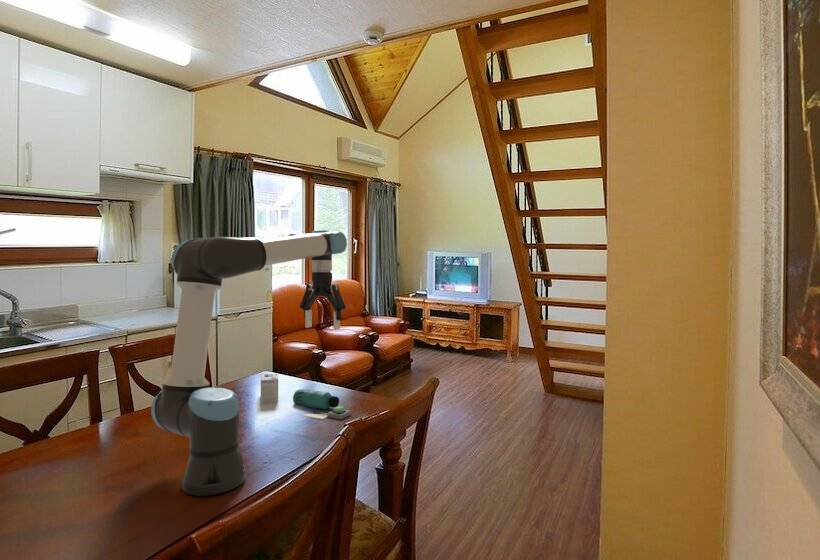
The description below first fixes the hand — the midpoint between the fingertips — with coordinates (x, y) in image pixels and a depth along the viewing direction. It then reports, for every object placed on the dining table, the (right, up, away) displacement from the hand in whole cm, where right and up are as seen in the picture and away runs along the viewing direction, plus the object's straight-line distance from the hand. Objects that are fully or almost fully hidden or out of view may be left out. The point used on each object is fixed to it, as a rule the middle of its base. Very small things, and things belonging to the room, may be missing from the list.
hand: (322, 328), depth 172 cm
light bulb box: (-23, -31, +9) cm, 39 cm away
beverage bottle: (-12, -27, +6) cm, 30 cm away
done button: (+8, -29, -8) cm, 31 cm away
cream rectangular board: (0, -31, -2) cm, 31 cm away
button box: (+8, -31, -8) cm, 33 cm away
